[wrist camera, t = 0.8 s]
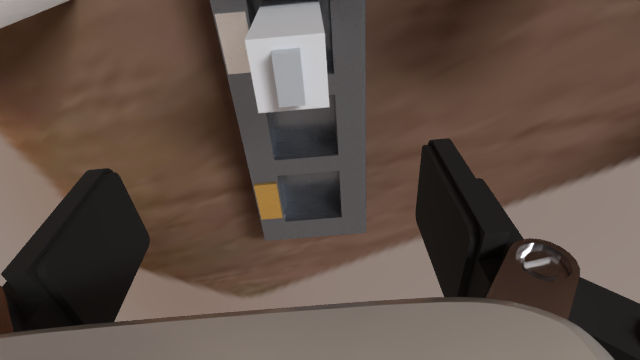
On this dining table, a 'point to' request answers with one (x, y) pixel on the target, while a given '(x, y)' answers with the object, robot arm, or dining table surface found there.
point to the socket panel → (304, 129)
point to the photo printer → (23, 9)
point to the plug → (288, 56)
